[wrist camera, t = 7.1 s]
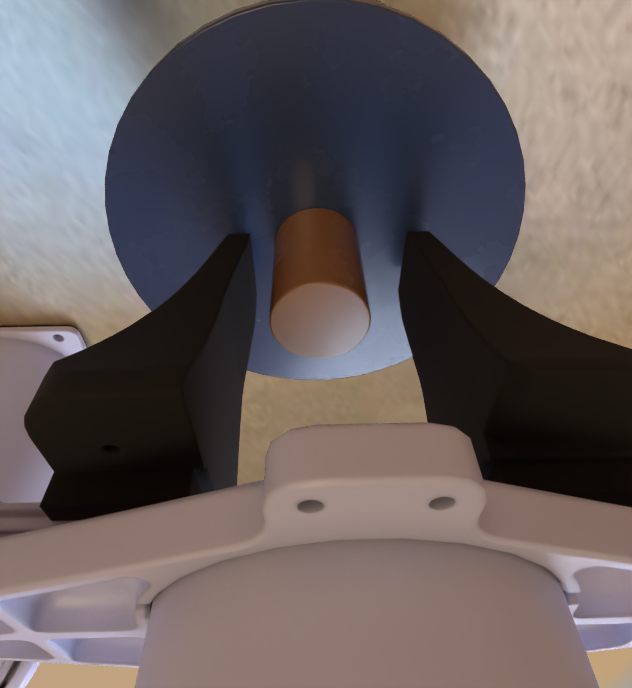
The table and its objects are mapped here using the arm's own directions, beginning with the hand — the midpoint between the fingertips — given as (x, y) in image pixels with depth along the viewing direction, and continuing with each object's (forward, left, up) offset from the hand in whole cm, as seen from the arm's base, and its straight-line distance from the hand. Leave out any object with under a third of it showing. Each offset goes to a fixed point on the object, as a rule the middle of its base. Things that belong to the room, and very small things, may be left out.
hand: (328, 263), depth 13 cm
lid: (0, 0, -1) cm, 1 cm away
